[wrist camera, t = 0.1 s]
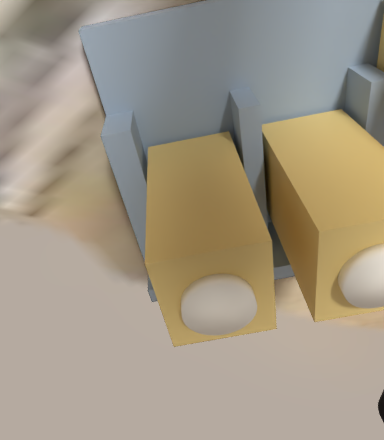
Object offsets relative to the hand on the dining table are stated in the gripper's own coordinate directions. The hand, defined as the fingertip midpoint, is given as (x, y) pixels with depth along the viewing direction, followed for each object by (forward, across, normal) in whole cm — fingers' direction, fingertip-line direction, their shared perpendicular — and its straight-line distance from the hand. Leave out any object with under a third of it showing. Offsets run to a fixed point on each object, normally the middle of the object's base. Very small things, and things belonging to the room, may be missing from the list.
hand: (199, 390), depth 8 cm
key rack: (+15, +7, +4) cm, 17 cm away
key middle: (+14, +7, +3) cm, 16 cm away
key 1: (+14, +2, +1) cm, 15 cm away
